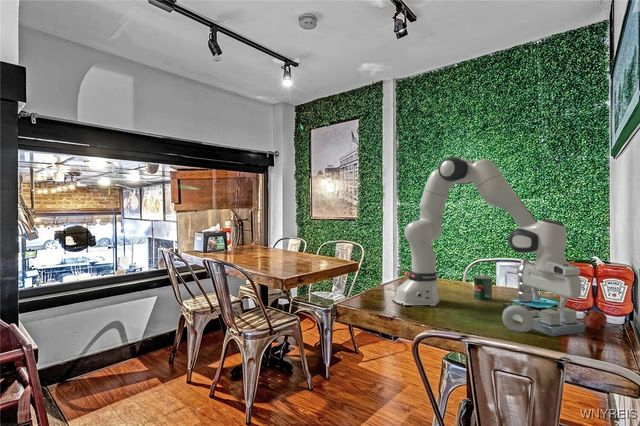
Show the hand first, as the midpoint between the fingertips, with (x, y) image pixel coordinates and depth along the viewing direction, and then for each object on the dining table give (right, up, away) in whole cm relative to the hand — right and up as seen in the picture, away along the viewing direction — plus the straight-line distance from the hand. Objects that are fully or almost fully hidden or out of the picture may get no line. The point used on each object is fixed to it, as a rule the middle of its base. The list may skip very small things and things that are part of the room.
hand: (548, 303), depth 122 cm
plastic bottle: (+15, -10, +40) cm, 44 cm away
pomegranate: (+20, -11, +4) cm, 23 cm away
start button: (+1, -9, +21) cm, 23 cm away
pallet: (+4, -11, +1) cm, 12 cm away
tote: (+1, -11, +11) cm, 15 cm away
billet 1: (+1, -10, 0) cm, 10 cm away
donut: (-11, -11, +1) cm, 15 cm away
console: (+1, -10, +21) cm, 24 cm away
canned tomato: (-2, -10, +44) cm, 45 cm away
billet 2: (+8, -10, +2) cm, 13 cm away
